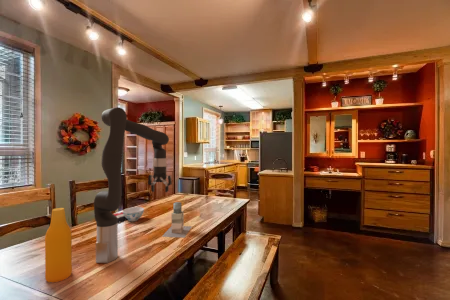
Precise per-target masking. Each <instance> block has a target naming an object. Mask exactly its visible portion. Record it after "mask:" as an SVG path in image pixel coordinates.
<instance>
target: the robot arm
mask: <svg viewBox="0 0 450 300" xmlns="http://www.w3.org/2000/svg"><path fill="white" fill-rule="evenodd" d="M127 117H128V116H127V113H126V111H125V110H124V109H123V108H122V107H113V108H108V109H105V110H104V111H103V112H102V113H101V121H102V122H103V123H104V125H106V126H108V127H109V134H108V138H107V140H106V142H105V144H104V146H103V149H102V153H101V167H102V170H103V173H104V174H105V177H106V178H107V182H108V183H107V185H108V189H107V190H108V191H107V190H106V191H105V190H101V191H100V192H98V193H96V194H95V196H94V199H93V212H94V220H95V222H96V243H95V263H98V264H108V263H111V262H114V261H115V260H116V259H117V258H118V256H119V251H118V249H119V248H118V246H119V244H118V243H119V240H118V239H119V238H118V232H119V231H118V229H119V228H118V225H119V224H118V223H117V222H118V220H117V217H116V216H115V215H113V212H115V211H117V210H119V208H120V206H121V203H122V164H123V154H124V152H123V151H124V149H123V148H124V140H125V139H124V138H125V132H128V133H132V134H134V135H136V136H138V137H140V138H143V139H145V140H147V141H151V144H152V147H153V153H154V155H153V156H154V157H153V174H149V175H148V177H147V178H148V179H147V180H148V181H147V185H148V186H150V191H151V192H152V193H154V192H155V188H156V187H155V184H156V183H163V184H164V185H165V187H164V193H168V191H169V190H170V189H169V188H170V186H171V185H172V184H173V183H172V179H173V178H172V175H171V174H169V175H167V150H166V149H165V148H163V146H164V145H167V144H168V143H169V140H170V138H169V135H168V134H167V133H165V132H162V131H159V130H156V129H153V128H152V127H150V126H147V125H146V124H143V123H139V122H136V121H135V122H134V121H132V120H129V119H128V118H127Z"/></svg>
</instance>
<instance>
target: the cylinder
mask: <svg viewBox="0 0 450 300" xmlns="http://www.w3.org/2000/svg"><path fill="white" fill-rule="evenodd" d="M182 207H183V206H182V202H181V201H175V202H173V212H174V213H175V214H179V213H181V212H182V211H183V209H182Z"/></svg>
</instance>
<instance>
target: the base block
mask: <svg viewBox="0 0 450 300" xmlns="http://www.w3.org/2000/svg"><path fill="white" fill-rule="evenodd" d="M184 222H185V220H184V221H183V222H182V223H181V224H178V223H172V222H171V226H172V233H181V232H182V231H183V230H184V226H185V225H184V224H185V223H184Z"/></svg>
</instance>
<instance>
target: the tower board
mask: <svg viewBox="0 0 450 300" xmlns="http://www.w3.org/2000/svg"><path fill="white" fill-rule="evenodd" d="M192 227H193V226H189V225H187V226H186V225H184V230H183V231H182V232H181V233H172V225H171V226H170V227H169V228H168V229H167V230H166V231H165V232H164V234H163V235H162V236H161V238H162V237H163V238H183V239H184V238H186V236H187V234H188V233H189V232H190V230H191V229H192Z"/></svg>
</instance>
